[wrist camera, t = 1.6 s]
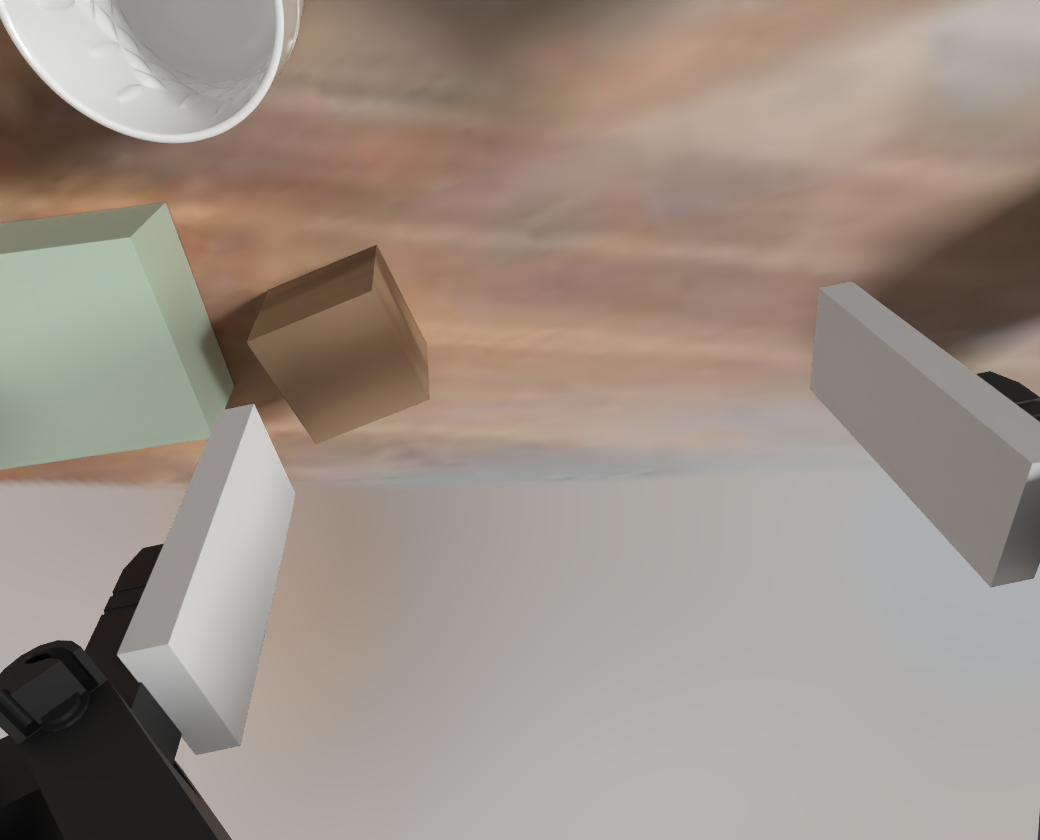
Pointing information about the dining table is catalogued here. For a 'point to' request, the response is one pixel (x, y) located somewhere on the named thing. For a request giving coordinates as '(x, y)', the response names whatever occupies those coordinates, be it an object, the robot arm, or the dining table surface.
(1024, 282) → the dining table surface
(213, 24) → the white cup
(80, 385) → the base block
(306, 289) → the walnut cube
